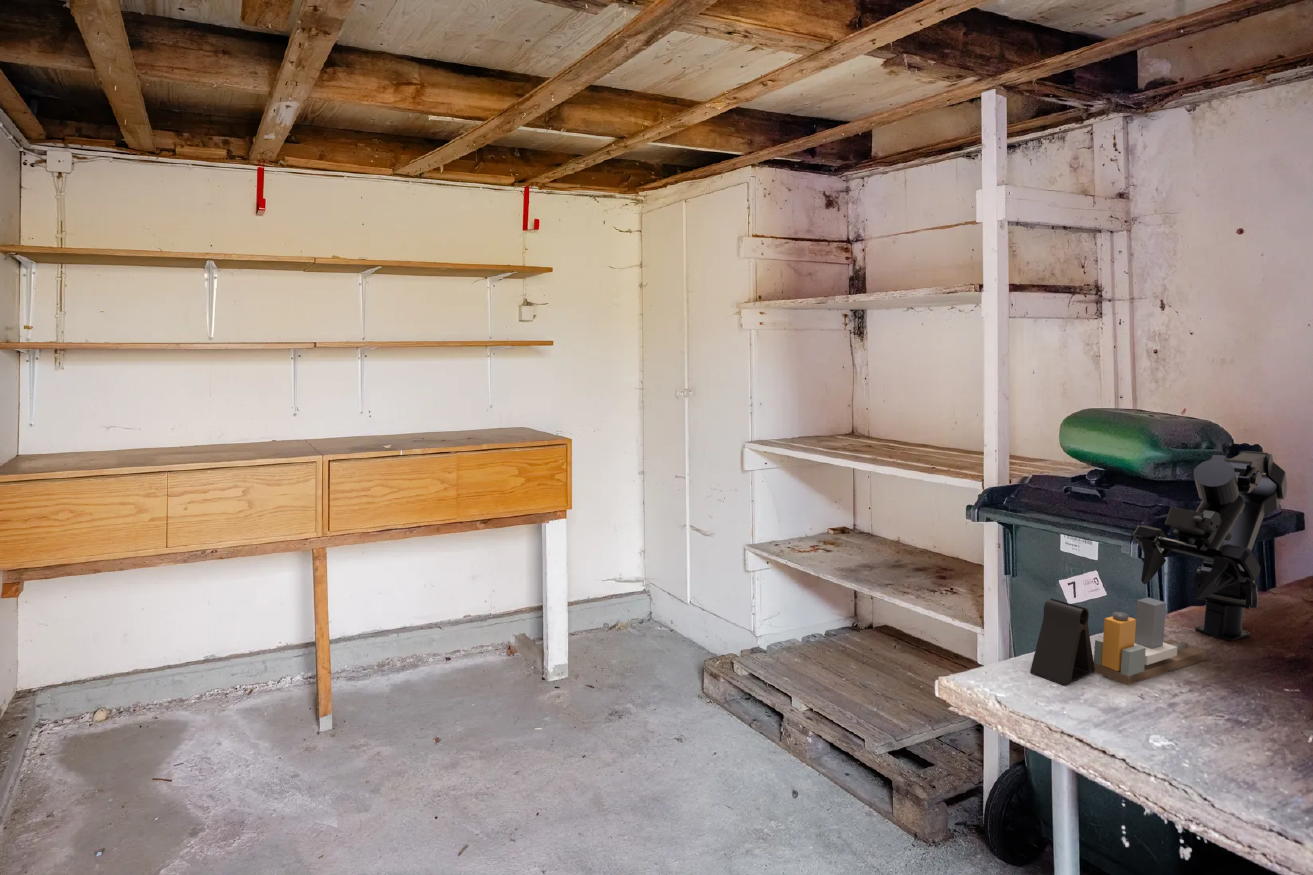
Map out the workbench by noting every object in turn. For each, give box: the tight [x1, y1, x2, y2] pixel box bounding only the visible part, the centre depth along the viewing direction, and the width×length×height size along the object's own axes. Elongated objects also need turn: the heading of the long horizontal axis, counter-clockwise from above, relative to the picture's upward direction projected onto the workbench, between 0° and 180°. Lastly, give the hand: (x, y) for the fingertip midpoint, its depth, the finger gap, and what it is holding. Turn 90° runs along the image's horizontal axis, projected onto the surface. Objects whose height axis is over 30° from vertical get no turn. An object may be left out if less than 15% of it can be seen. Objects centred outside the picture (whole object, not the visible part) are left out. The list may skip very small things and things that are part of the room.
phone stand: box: [1029, 598, 1095, 686], centre depth 134 cm, size 9×6×12 cm, turn 123°
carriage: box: [1134, 597, 1177, 665], centre depth 135 cm, size 9×6×9 cm, turn 116°
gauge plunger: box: [1102, 611, 1136, 671], centre depth 132 cm, size 4×3×9 cm
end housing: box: [1093, 637, 1146, 676], centre depth 133 cm, size 4×6×4 cm, turn 26°
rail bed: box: [1094, 639, 1207, 686], centre depth 137 cm, size 21×6×2 cm, turn 116°
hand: (1169, 590), depth 137 cm, fingers open, 9 cm apart
